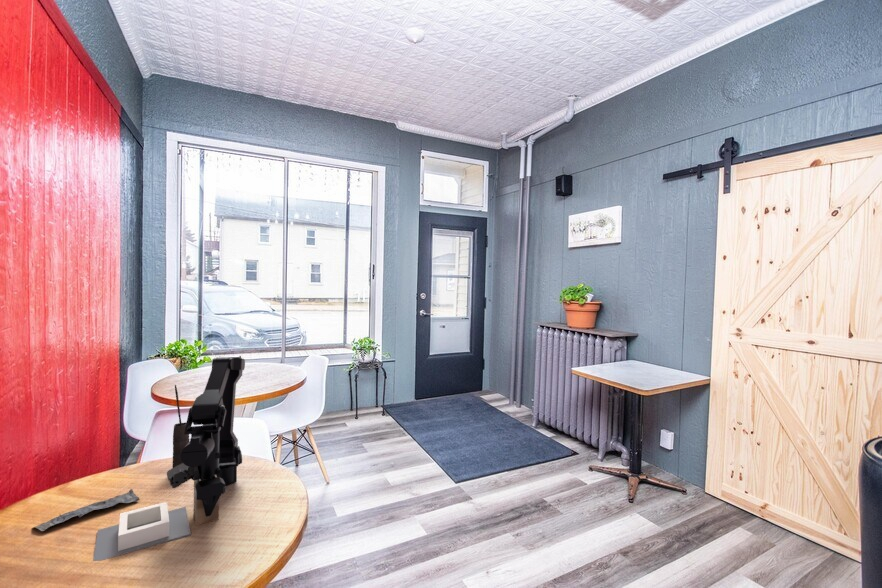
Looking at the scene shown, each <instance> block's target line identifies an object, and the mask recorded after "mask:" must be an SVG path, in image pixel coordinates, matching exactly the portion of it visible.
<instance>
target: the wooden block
mask: <svg viewBox="0 0 882 588" xmlns="http://www.w3.org/2000/svg"><path fill="white" fill-rule="evenodd" d="M215 477H217V476H216V475H215ZM201 481H203V480H201ZM198 482H199V479H198V480H193V518H194V522H195V526H199V525H203V524H206V523H209V522H214V521H217V520H219V518H220V517H219V516H220V513H219V512H220V509H219V508H220V499H219V500H218V502H217V503H216V506H215V508H214V510H213V512H212V514H211V515H210V516H207V517H206V515H205V511H204V506H203V502H202V500H196V496H195V486H196V484H197V483H198Z"/></svg>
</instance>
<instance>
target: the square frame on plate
mask: <svg viewBox="0 0 882 588" xmlns="http://www.w3.org/2000/svg"><path fill="white" fill-rule="evenodd" d="M168 508H169V507H168V501H164V502H160V503H156V504H153V505H149V506H144V507H141V508H140V507H139V508H135V509H132V510H129V511H128V510H127V511H125V512H120V514H119V523H118V524H115V525H111V526H108V527H105V528H104V527H103V528H100V529H98V530H97V533H96V539H95V546H94V551H93V558H92V561H93V562H101V561H104V560H108V559H112V558H115V557H118V556H122V555H126V554H128V553H129V554H130V553H133V552H136V551H140V550H144V549H147V548H151V547H155V546H157V545H161V544H165V543H168V542H169V543H170V542H171V541H175V540H179V539H182V538H186V537H189V536H191V535H192V533H191V529H190V528H191V527H190V523H189V517H188V513H187V507H186V506H183V507H179V508H175V509H170V510H169V509H168Z"/></svg>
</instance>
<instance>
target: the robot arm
mask: <svg viewBox="0 0 882 588" xmlns="http://www.w3.org/2000/svg"><path fill="white" fill-rule="evenodd" d="M245 366H246V360H245V358H243V357H242V356H241V355H218V356H216V357H213V358H212V360H211V371H210V373H209V377H208V379H207V382H206V384H205V388H204V390H203V393H202V394H200V395H198V396H197V397H196V398H195V400H194V401H193V404H192V405H191V407H190V408H189V409H188V415H187V419H186V422H185V423H186V427H185V432H184V435H186V434H189V435H191V436H190V438H189V439H190V441H189V443H188V444H187V445H186V446H185V447H184V449H183V450H182V452H181V456H180V457H181V461H182V462H183V463H182V464H180V465H178V466H176V467H174V468H172V467H171V468H170V469H168V470H167V472H166V477H167V480H168V482H169V484H170V486H171V488H172V489H176V488H179V486H181V485H183V484H185V483H186V482H188V481H190V480H192V481H194V480H198V479H199V482H198V483H197V484H196V486H195V496H196V500H202V502H203V506H204V511H205V515H206V517H207V516H210V515H211V514H212V512H213V510H214V508H215V506H216V503H217V502H218V500H219V501H220V497H221V496H222V495H223V494H224V493H226V487H228V486H230V485H232V484H234V483H236V482H237V481H238V480H237V479H238V478H237V477H238V475H237V473H238V471H237V470H238V467H239V465H242V464H243V454H242V450H241V447H240V445H239V439H238V438H237V436H236V434H235V433H234V420H235V418H234V417H235V407H236V405H235V404H236V391H237V390H236V389H237V383H238V382H239V380H240V379H241V377H242V376H243V373H244V372H243V371H244V370H245ZM192 425H193V426H192ZM215 475H216V476H217V477H215ZM201 480H203V481H201Z"/></svg>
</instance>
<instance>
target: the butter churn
mask: <svg viewBox="0 0 882 588" xmlns="http://www.w3.org/2000/svg"><path fill="white" fill-rule="evenodd" d="M174 392H175V398H176V406H177V413H178V414H177V415H178V422H177V423H175V424H173V435H172V466H171V469H172V468H174V467H176V466H178V465H180V464H182V463H183V462H182V461H181V457H180V456H181V452H182V450H183V449H184V447H185V446H186V445H187V444H188V443H189V442H190V439H191V438H190V434H186V435H184V432H185V427H186V423H187V422H182V416H181V409H180V401H179V394H178V388H177V385H176V384H174Z"/></svg>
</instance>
